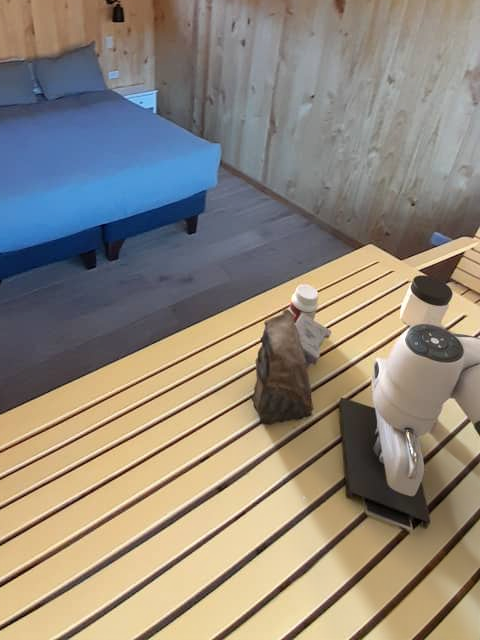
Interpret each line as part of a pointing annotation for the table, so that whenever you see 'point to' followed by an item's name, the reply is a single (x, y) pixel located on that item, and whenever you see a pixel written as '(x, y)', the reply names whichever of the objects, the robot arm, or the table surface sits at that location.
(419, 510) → the lid
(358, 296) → the table surface
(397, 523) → the phone
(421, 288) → the jar
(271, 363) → the brown rock
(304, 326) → the incense holder
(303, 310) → the pill bottle
